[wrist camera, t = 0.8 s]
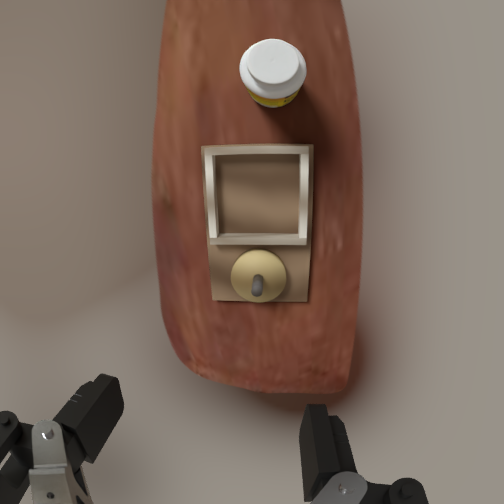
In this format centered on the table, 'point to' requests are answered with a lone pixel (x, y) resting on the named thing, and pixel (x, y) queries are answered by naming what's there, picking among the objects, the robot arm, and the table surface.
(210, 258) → the board
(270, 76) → the supplement bottle
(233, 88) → the table surface
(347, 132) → the table surface
